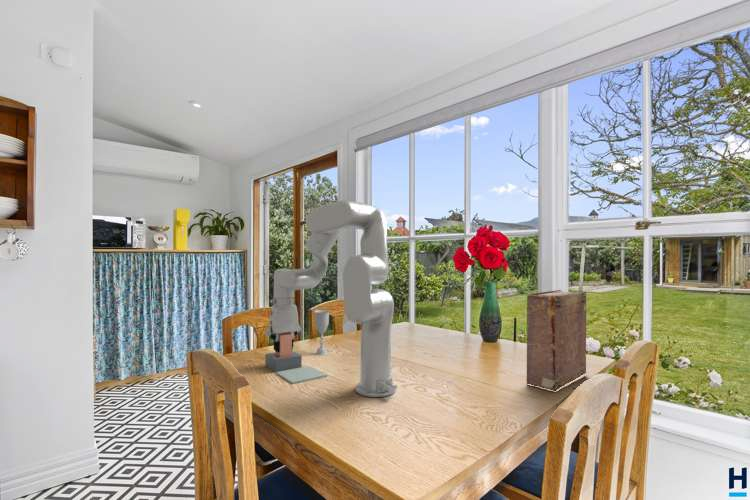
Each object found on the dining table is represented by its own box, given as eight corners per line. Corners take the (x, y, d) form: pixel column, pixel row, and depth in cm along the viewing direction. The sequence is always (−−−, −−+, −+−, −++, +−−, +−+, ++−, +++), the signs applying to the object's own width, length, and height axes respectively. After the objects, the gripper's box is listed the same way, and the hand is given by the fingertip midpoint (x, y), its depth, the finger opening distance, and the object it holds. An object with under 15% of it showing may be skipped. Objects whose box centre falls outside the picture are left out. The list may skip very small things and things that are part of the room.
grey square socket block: (301, 367, 143) (301, 355, 143) (276, 372, 137) (276, 359, 137) (289, 361, 151) (290, 350, 151) (265, 365, 145) (265, 353, 145)
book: (559, 370, 142) (560, 289, 142) (586, 376, 135) (586, 291, 136) (526, 385, 125) (526, 294, 126) (554, 393, 119) (555, 296, 119)
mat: (327, 376, 133) (327, 374, 133) (292, 384, 125) (292, 382, 125) (309, 367, 143) (309, 365, 143) (276, 373, 135) (276, 372, 135)
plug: (291, 365, 143) (291, 333, 143) (280, 368, 141) (280, 335, 141) (286, 363, 147) (286, 331, 147) (275, 365, 144) (275, 333, 144)
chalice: (328, 356, 159) (328, 312, 159) (312, 355, 159) (312, 312, 160) (330, 351, 167) (331, 310, 167) (315, 351, 167) (315, 309, 167)
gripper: (266, 304, 136) (265, 356, 136) (308, 301, 146) (308, 349, 146) (258, 302, 142) (257, 351, 142) (299, 299, 152) (299, 345, 152)
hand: (283, 349), depth 144 cm, fingers closed on plug, 4 cm apart
